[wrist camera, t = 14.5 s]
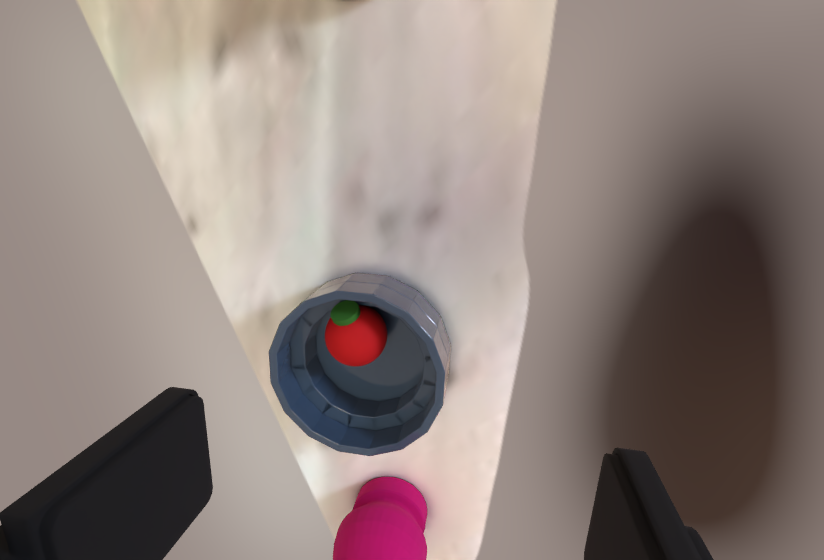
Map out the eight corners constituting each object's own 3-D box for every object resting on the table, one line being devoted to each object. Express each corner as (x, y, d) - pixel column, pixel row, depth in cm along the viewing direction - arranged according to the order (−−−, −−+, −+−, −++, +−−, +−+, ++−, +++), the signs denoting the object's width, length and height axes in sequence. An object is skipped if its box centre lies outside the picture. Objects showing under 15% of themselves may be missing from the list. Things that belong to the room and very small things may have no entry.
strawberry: (350, 329, 35) (329, 286, 32) (401, 333, 33) (384, 288, 30) (328, 376, 32) (302, 333, 29) (383, 382, 30) (361, 337, 27)
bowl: (296, 265, 33) (264, 283, 29) (456, 278, 32) (450, 301, 27) (301, 404, 37) (273, 441, 32) (445, 424, 35) (438, 466, 30)
